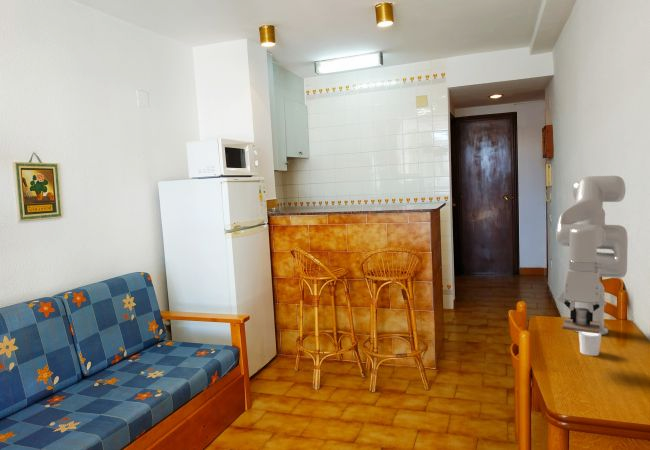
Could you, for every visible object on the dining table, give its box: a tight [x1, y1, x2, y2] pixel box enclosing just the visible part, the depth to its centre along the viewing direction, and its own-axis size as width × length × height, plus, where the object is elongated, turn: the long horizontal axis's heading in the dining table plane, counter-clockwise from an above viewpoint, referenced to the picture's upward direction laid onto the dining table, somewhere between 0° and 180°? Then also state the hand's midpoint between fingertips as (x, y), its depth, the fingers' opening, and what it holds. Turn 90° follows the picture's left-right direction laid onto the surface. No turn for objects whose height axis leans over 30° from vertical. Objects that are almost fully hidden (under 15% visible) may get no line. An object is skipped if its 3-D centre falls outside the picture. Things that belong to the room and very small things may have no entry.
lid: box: [561, 307, 600, 334], centre depth 146 cm, size 10×10×6 cm
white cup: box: [578, 331, 602, 357], centre depth 158 cm, size 7×7×7 cm
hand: (581, 322), depth 146 cm, fingers closed on lid, 3 cm apart
